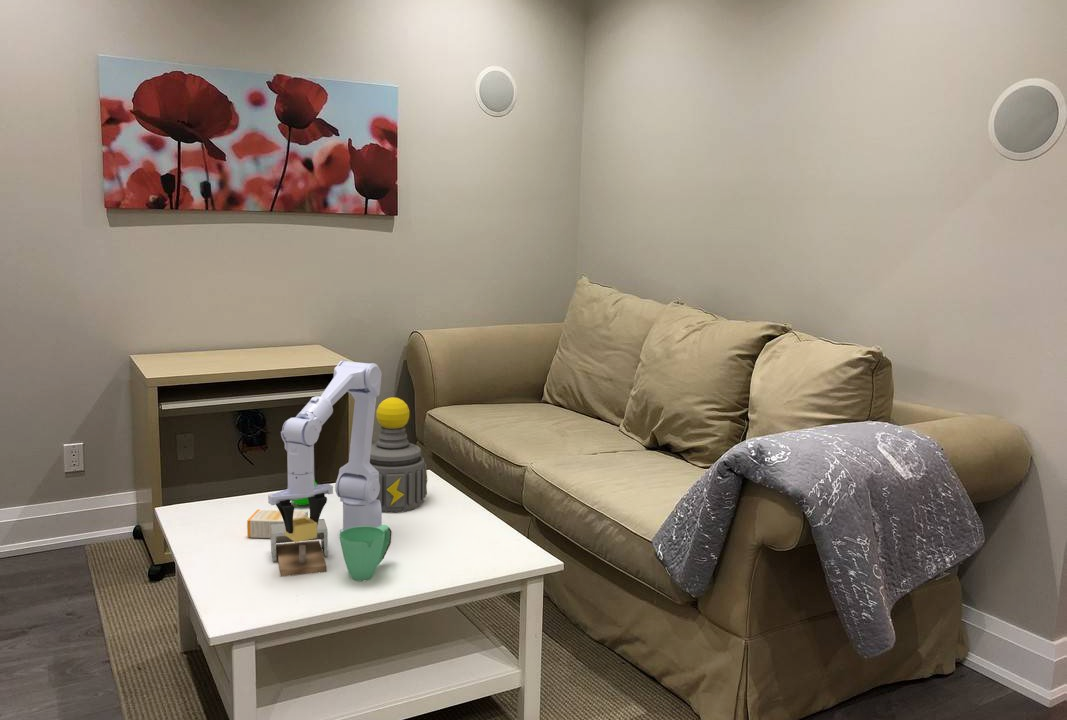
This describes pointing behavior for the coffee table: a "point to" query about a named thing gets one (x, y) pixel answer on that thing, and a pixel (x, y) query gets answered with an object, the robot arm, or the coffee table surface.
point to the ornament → (304, 500)
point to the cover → (280, 537)
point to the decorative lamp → (397, 460)
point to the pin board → (300, 558)
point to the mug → (364, 549)
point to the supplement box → (267, 522)
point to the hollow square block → (303, 529)
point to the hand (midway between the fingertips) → (301, 529)
